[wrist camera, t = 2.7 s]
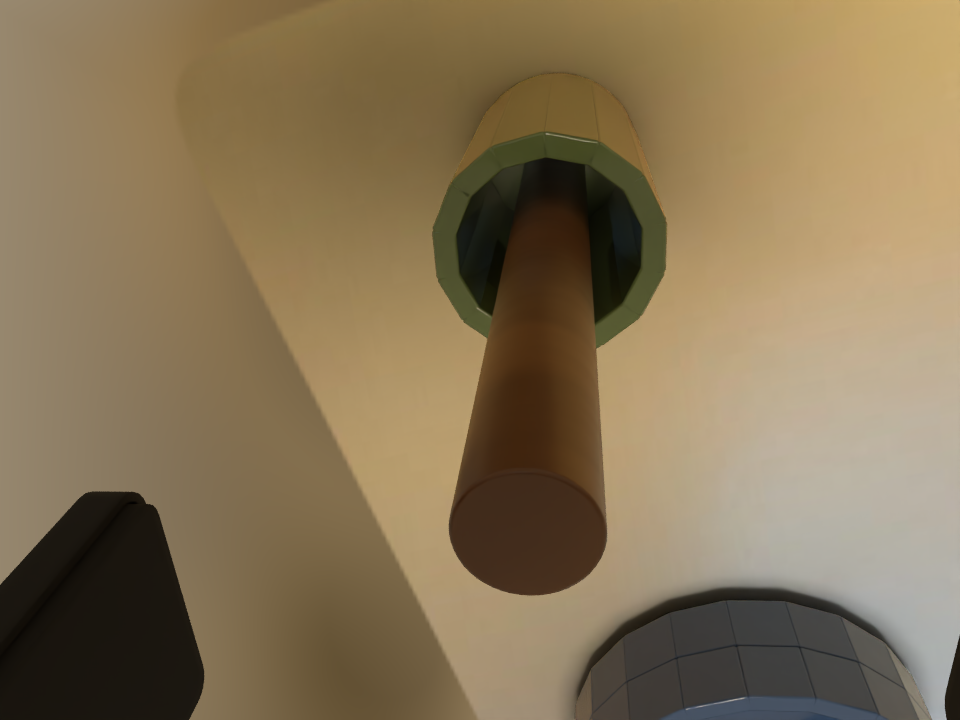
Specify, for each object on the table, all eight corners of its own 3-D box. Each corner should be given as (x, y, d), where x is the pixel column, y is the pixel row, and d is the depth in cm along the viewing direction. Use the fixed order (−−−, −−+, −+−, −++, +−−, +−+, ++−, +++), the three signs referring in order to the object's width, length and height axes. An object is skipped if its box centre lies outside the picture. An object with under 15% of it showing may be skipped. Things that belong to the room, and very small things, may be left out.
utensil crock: (481, 238, 31) (444, 360, 22) (469, 75, 28) (422, 137, 19) (636, 233, 30) (663, 356, 21) (638, 65, 27) (670, 125, 18)
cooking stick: (526, 192, 29) (455, 596, 11) (524, 133, 28) (441, 470, 10) (585, 190, 29) (608, 598, 11) (584, 130, 28) (607, 470, 10)
